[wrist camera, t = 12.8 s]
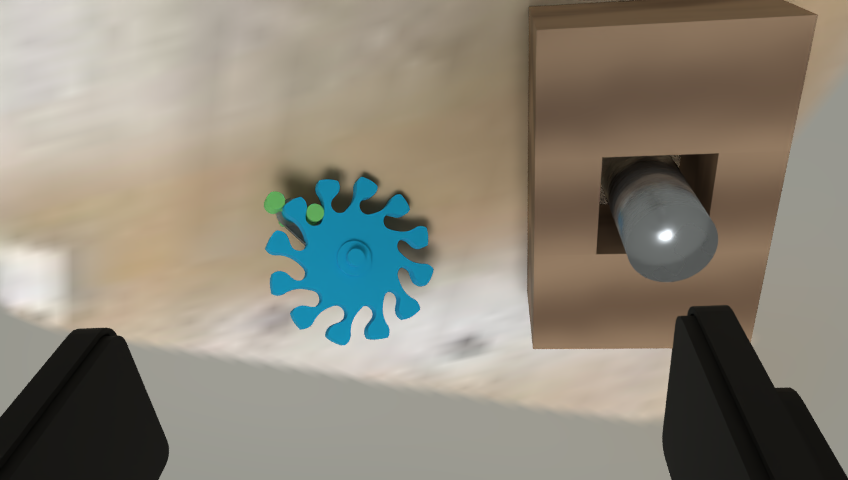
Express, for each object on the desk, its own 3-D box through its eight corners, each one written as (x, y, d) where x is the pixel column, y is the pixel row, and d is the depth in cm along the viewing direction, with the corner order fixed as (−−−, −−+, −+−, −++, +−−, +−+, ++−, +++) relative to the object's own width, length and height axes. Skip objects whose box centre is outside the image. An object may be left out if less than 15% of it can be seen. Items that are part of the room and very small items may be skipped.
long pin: (597, 129, 38) (629, 207, 29) (669, 126, 38) (724, 204, 29) (593, 193, 40) (623, 283, 31) (662, 190, 40) (711, 281, 31)
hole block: (528, 6, 35) (536, 30, 30) (766, -8, 34) (817, 14, 29) (527, 292, 44) (533, 348, 39) (717, 289, 43) (749, 347, 37)
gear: (468, 252, 41) (365, 381, 37) (434, 264, 46) (341, 378, 43) (334, 126, 39) (213, 249, 36) (315, 155, 45) (209, 264, 41)
